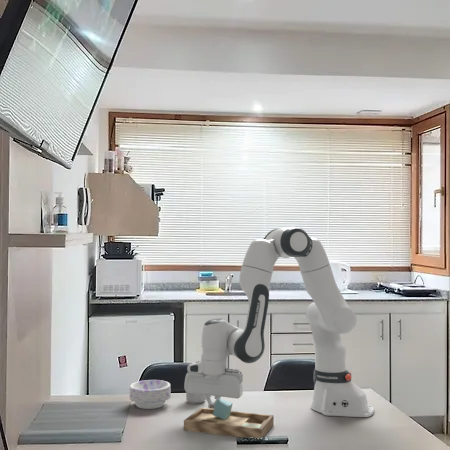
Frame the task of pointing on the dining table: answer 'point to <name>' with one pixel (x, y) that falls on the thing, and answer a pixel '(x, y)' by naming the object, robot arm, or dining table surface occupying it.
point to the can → (195, 398)
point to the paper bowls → (150, 393)
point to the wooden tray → (229, 423)
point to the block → (222, 409)
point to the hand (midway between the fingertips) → (212, 408)
